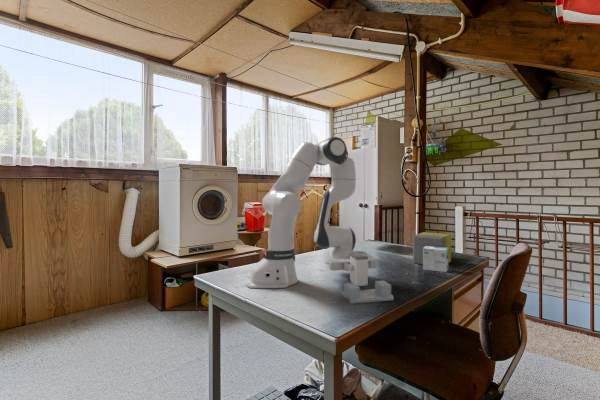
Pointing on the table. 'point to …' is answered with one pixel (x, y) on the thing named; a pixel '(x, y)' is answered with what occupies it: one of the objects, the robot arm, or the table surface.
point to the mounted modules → (380, 287)
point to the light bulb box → (435, 258)
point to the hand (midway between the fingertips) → (359, 268)
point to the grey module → (359, 269)
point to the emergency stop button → (429, 244)
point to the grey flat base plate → (368, 297)
